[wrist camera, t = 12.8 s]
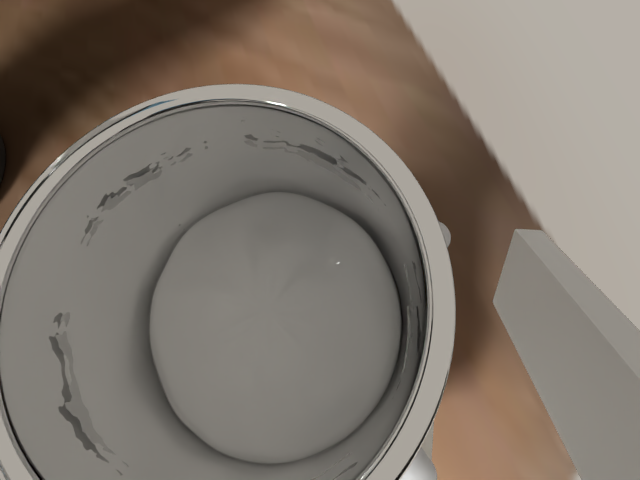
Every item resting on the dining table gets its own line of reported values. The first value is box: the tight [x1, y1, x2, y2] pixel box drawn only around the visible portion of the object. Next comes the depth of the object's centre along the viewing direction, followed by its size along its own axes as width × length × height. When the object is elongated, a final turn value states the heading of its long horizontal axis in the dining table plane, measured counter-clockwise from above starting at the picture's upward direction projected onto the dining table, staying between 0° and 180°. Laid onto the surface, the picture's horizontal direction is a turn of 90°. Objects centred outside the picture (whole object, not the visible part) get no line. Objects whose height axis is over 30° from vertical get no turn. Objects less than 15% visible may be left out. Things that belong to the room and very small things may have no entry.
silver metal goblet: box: [0, 84, 456, 480], centre depth 12 cm, size 7×7×15 cm
